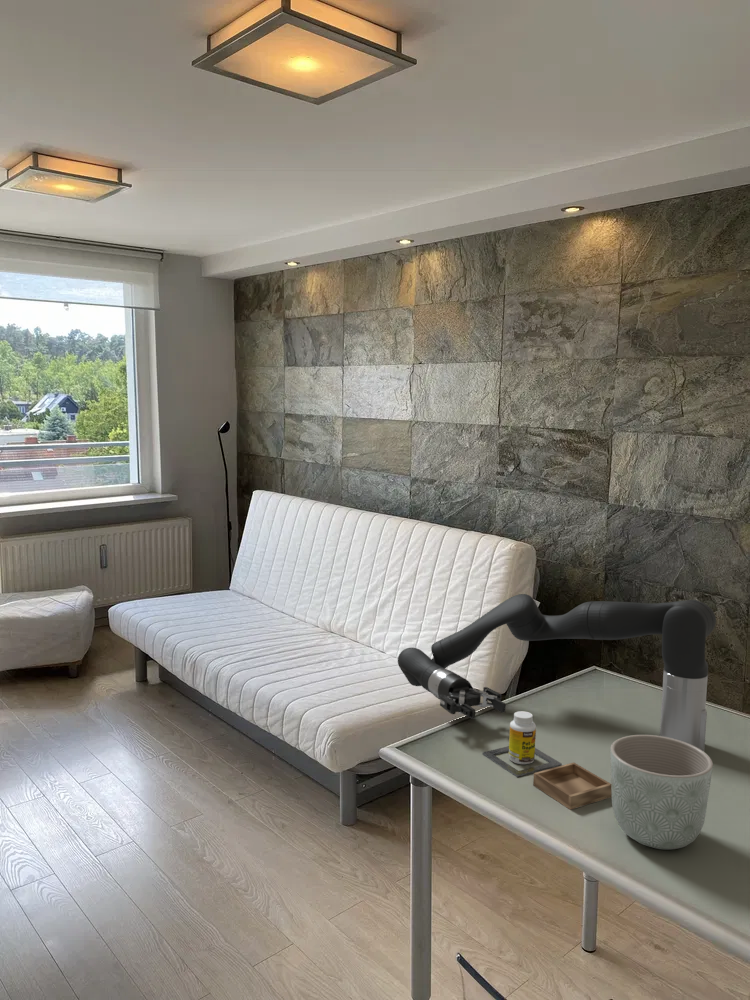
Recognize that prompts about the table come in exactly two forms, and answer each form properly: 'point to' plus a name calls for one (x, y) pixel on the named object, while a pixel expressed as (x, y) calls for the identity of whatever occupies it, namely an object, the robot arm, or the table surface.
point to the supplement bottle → (522, 738)
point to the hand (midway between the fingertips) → (489, 711)
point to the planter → (659, 789)
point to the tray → (572, 785)
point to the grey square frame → (517, 773)
